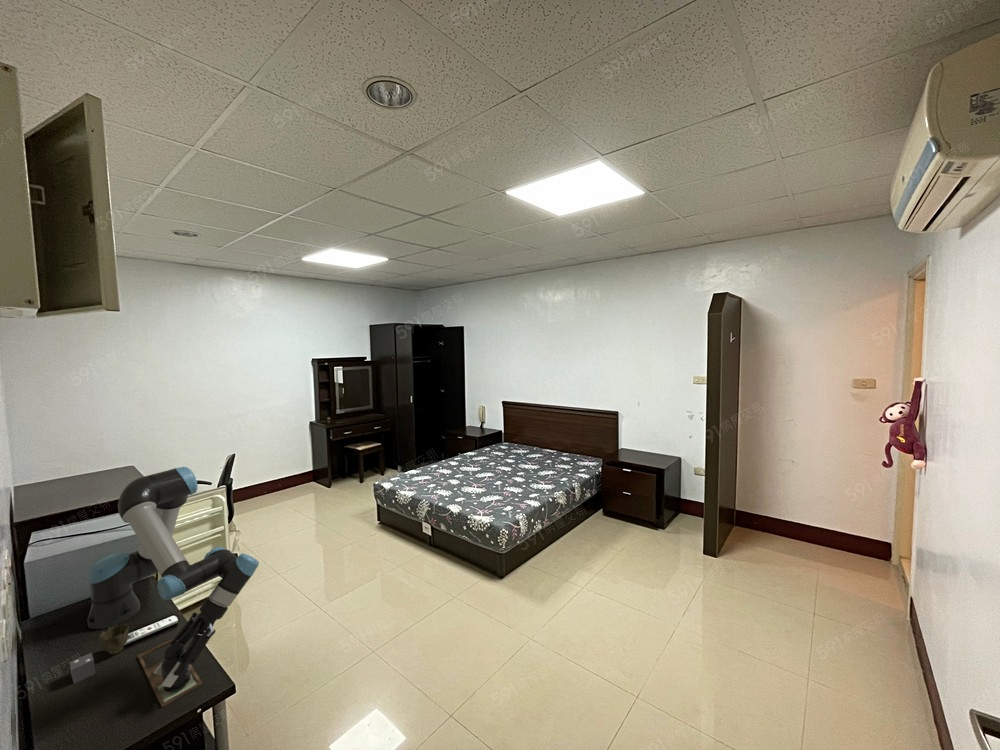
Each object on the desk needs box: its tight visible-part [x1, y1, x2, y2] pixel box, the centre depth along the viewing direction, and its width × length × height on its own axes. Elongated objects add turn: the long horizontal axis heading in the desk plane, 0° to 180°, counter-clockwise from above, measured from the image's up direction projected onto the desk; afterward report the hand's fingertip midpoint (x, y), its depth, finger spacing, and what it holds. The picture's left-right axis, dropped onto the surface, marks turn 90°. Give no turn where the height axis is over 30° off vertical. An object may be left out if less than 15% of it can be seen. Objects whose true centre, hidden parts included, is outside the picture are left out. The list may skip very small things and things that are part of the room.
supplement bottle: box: [161, 643, 191, 692], centre depth 128 cm, size 7×7×12 cm
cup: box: [99, 623, 130, 655], centre depth 142 cm, size 8×7×8 cm
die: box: [69, 652, 96, 684], centre depth 133 cm, size 5×5×5 cm
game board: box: [137, 638, 203, 708], centre depth 135 cm, size 31×10×1 cm, turn 52°
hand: (162, 679), depth 125 cm, fingers closed on supplement bottle, 7 cm apart
